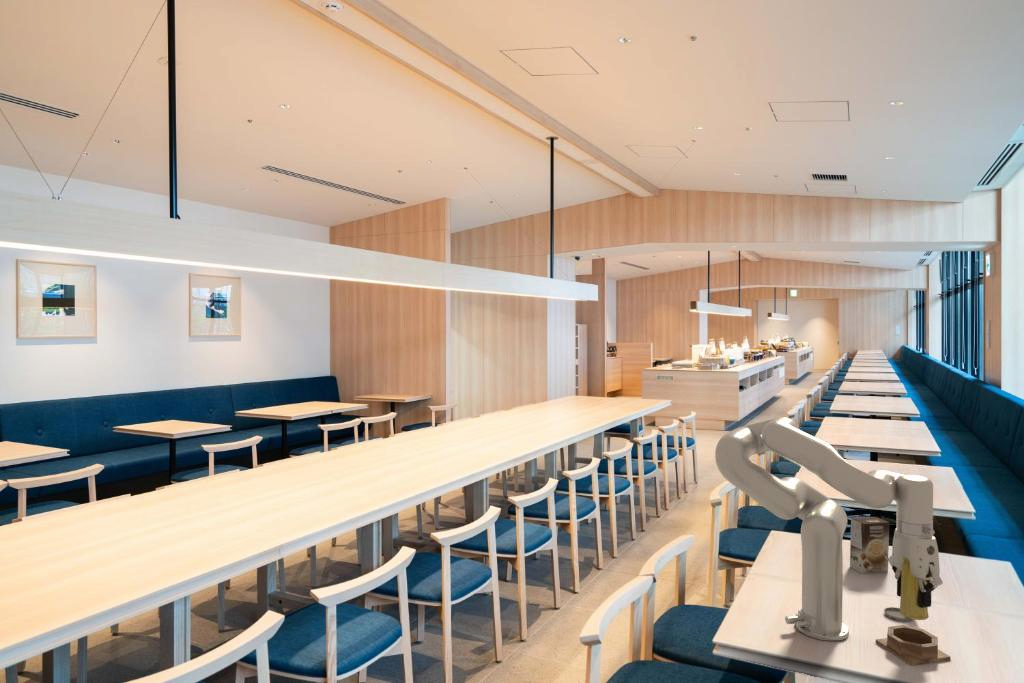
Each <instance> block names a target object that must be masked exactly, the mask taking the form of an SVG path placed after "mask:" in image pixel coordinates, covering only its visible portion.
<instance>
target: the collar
mask: <svg viewBox="0 0 1024 683" xmlns="http://www.w3.org/2000/svg"><path fill="white" fill-rule="evenodd" d="M938 640H939V639H938V636H936V635H934V634H932V633H931V632H928V630H925V629H924V628H919V627H914V626H910V625H905V624H900V625H899V624H898V625H893V626H888V627H887V633H886V637H884V638H877V639H875V643H876V644H877V645H879V646H880V647H882V648H883V649H885V650H886V651H887V652H890V653H891V654H892V655H894V656H896V657H897V658H898V659H900V660H902V661H903V662H905V663H906V664H907V665H909V666H911V667H912V666H919V665H925V664H932V663H939V662H946V661H951V656H950V655H949V654H947V653H945V652H944V651H942V650H940V649H938V648H939V646H938V645H939V644H938V643H939V641H938Z"/></svg>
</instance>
